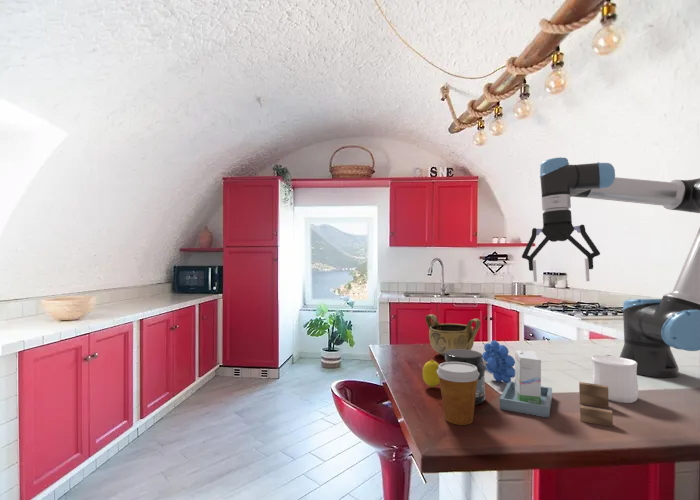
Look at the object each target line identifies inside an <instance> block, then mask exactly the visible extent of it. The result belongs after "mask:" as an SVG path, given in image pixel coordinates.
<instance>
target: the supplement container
mask: <svg viewBox="0 0 700 500" xmlns="http://www.w3.org/2000/svg"><path fill="white" fill-rule="evenodd" d="M482 355H483V353H481V352H479V351H477V350H472V349H471V350H466V349H453V350H448V351H446V352H445V356H444V360H445V362H463V363H469V364H472V365H474V366H476V367H477V370H478V372H479V377H478V379H477V387H476V397H475V406H477V405H480V404H482V403H484V401H485V399H486V386H485V385H486V384H485V381H486V379H485V377H486V376H485V371H486V367H485V366H484V365H483V361H484V359H483V357H482Z"/></svg>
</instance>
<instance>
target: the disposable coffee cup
mask: <svg viewBox="0 0 700 500" xmlns="http://www.w3.org/2000/svg"><path fill="white" fill-rule="evenodd" d="M437 374H438V376H439V381H440V383H439V386H440V393H441V400H442V409H443V415H444V420H445V421H446V422H448V423H450V424H453V425H458V426H467V425H470V424H472V423H473V422H474V415H475V414H474V413H475V406H476V405H475V397H476V387H477V379H478V377H479V372H478V370H477V367H476V366H474V365H472V364H469V363H463V362H446V361H444V362H442V363H439V367H438V369H437Z"/></svg>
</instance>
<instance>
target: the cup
mask: <svg viewBox="0 0 700 500" xmlns="http://www.w3.org/2000/svg"><path fill="white" fill-rule="evenodd" d="M590 359H591V362H592V378H591V381H592V383H591V384H598V385H605V386H608V400H609V401H610V402H615V403H622V404H631V403H636V402H637V400H638V397H639V384H638V383H639V381H638V377H637V376H638V374H637V362H636V361H633V360H630V359H626V358H621V357H620V356H613V355H603V354H599V355H598V354H597V355H596V354H595V355H592V356H591V358H590Z"/></svg>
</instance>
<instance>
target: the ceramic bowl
mask: <svg viewBox="0 0 700 500" xmlns="http://www.w3.org/2000/svg"><path fill="white" fill-rule="evenodd" d="M437 317H438V316H436V315H435V314H427V315H426V316H425V319H424V320H425V323H426V325H427V329H428V331H429V332H428V338H429V339H428V340H429V343H430V346H431V348H432V349H433V350H434V351H435V352H436V353H438V354H439V355H440V356H443V357H445V352H446V351H448V350H453V349H466V350H472V349H473V346H474V342H475V338H476V336H477V334H478V332H479V330H480V328H481V320H480V319H479V318H473V319H470V320H469V321H468V322H467V324H461V323H440V322H439V320H438V318H437ZM473 322H474V323H475V325H474V327H473V326H472V324H473Z"/></svg>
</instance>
